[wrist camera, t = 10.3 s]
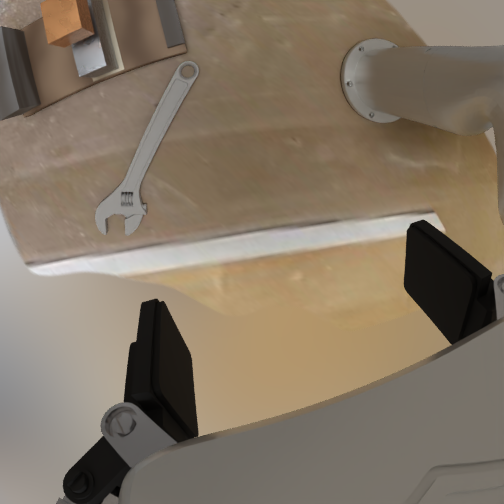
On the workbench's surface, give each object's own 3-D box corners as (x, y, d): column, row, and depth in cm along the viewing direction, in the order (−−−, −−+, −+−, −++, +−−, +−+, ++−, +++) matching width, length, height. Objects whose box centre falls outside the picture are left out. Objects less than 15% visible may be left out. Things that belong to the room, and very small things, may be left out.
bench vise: (166, -27, 27) (162, -50, 20) (186, 52, 33) (186, 44, 26) (12, 40, 25) (-19, 36, 19) (30, 115, 32) (1, 124, 25)
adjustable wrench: (183, 57, 33) (183, 56, 32) (226, 83, 36) (228, 82, 35) (92, 220, 41) (89, 226, 40) (131, 240, 44) (129, 246, 42)
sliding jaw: (101, -9, 24) (69, -41, 14) (119, 68, 30) (89, 61, 20) (76, 1, 24) (36, -24, 14) (94, 78, 30) (56, 77, 20)
